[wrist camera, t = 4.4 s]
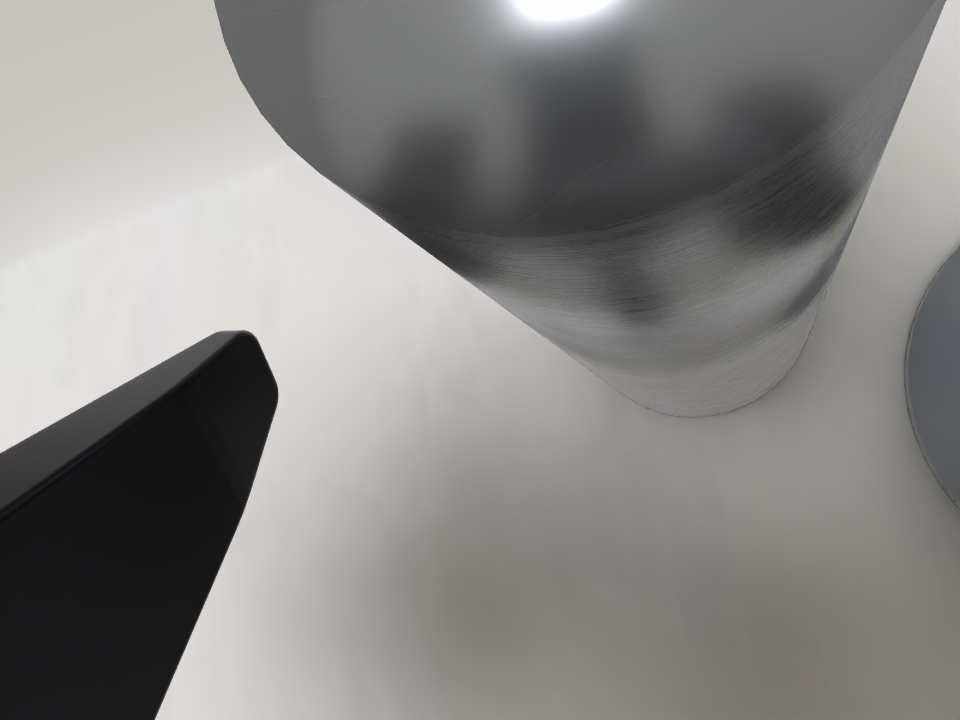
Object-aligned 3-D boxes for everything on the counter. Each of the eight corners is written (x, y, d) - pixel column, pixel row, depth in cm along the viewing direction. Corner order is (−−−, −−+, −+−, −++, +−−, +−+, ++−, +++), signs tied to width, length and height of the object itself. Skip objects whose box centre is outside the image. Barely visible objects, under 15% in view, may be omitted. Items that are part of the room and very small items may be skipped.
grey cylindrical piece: (858, 254, 18) (1197, -452, 4) (739, 460, 18) (713, 388, 4) (648, 160, 19) (429, -556, 6) (540, 349, 19) (96, 57, 6)
